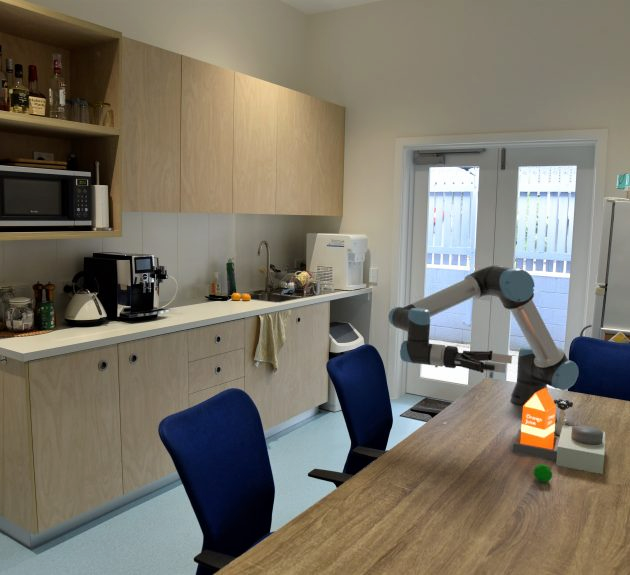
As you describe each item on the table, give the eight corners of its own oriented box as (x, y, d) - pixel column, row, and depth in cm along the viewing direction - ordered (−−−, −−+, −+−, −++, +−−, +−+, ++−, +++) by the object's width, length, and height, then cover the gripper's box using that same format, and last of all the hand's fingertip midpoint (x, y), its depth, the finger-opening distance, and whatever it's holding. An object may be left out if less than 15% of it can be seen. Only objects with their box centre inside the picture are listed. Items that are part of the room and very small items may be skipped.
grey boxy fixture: (520, 434, 210) (521, 409, 209) (603, 449, 198) (605, 423, 197) (510, 456, 190) (512, 429, 189) (602, 474, 179) (605, 445, 177)
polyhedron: (537, 475, 176) (539, 460, 176) (554, 481, 173) (555, 465, 172) (529, 480, 173) (531, 464, 172) (546, 486, 169) (547, 470, 169)
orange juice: (553, 448, 198) (558, 389, 195) (542, 455, 191) (547, 395, 189) (530, 441, 203) (534, 384, 200) (519, 448, 196) (523, 389, 194)
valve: (567, 432, 213) (569, 399, 212) (573, 439, 207) (576, 405, 205) (548, 431, 214) (550, 398, 212) (553, 437, 207) (556, 404, 206)
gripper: (452, 359, 219) (513, 366, 210) (435, 375, 197) (501, 384, 188) (453, 339, 218) (514, 345, 209) (436, 352, 196) (503, 361, 187)
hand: (508, 363), depth 198 cm, fingers open, 13 cm apart
